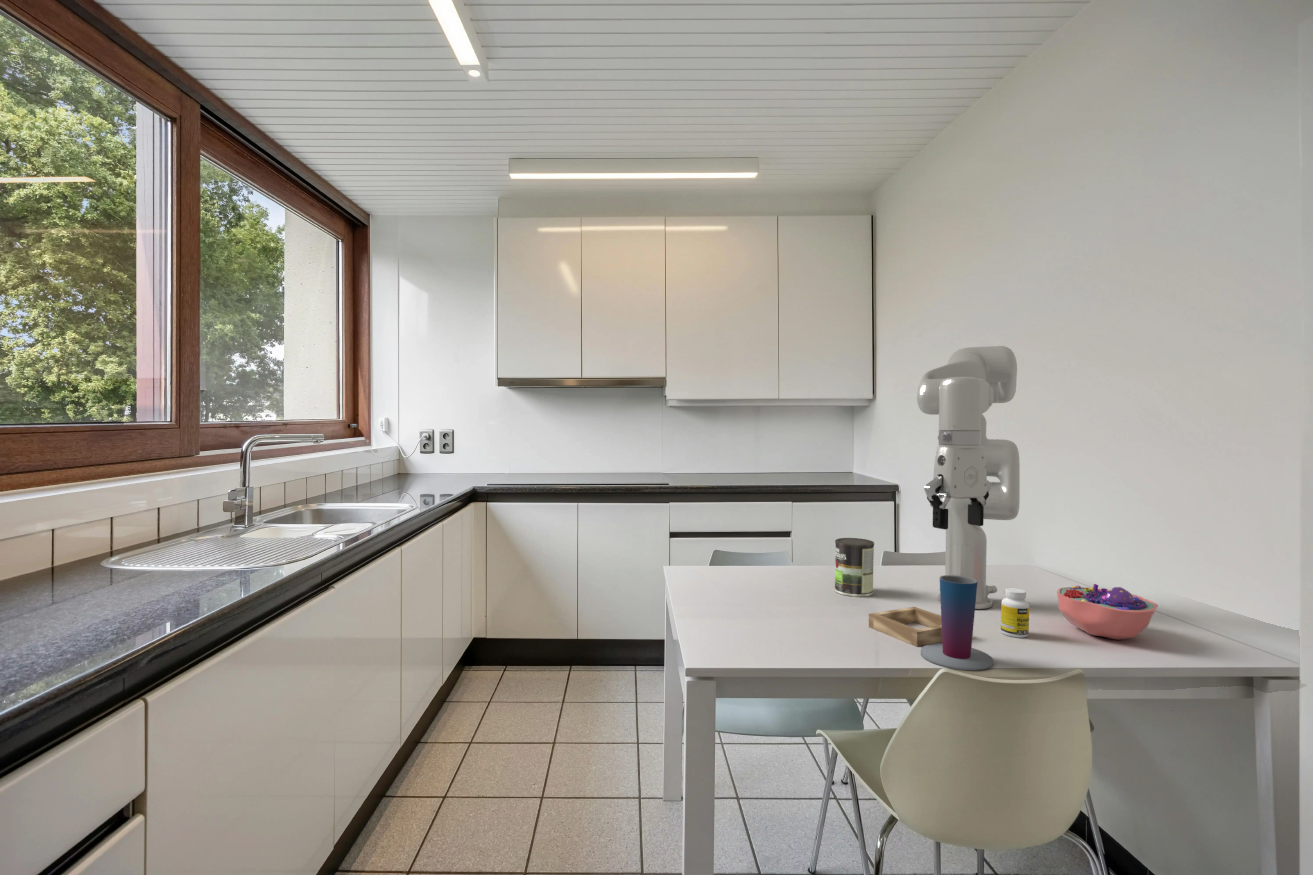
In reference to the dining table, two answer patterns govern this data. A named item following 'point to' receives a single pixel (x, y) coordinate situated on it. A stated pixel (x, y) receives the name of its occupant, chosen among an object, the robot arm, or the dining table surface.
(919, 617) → the socket
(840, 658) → the dining table surface
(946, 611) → the cup
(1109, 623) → the cell model
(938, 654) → the disc
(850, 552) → the coffee can
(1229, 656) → the dining table surface
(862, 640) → the dining table surface
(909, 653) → the dining table surface
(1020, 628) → the supplement bottle
